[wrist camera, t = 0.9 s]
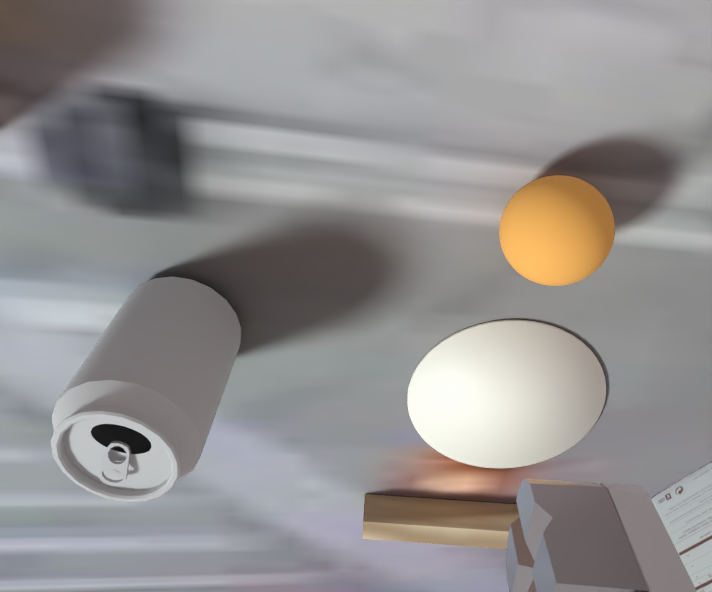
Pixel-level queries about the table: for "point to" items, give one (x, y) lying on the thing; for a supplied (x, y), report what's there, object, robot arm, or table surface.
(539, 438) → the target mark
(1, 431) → the table surface
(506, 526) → the rail
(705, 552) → the supplement box
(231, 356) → the can
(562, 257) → the ball
